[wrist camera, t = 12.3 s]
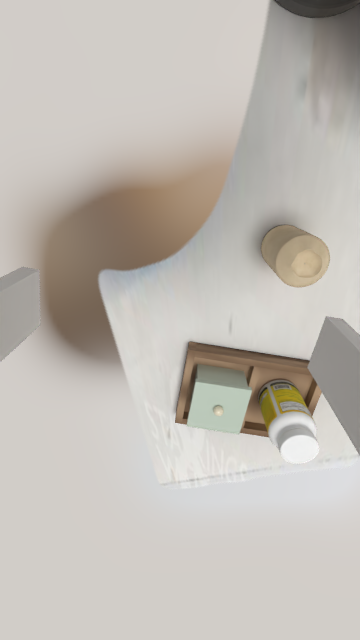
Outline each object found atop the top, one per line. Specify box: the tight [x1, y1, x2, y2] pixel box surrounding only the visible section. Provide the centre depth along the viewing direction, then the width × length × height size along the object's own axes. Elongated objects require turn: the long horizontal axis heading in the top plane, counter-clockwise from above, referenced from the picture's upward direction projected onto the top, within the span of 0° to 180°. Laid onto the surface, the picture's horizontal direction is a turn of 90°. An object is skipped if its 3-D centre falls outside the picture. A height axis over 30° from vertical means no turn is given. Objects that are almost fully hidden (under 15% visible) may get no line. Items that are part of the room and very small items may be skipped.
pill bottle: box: [258, 380, 319, 464], centre depth 44 cm, size 6×6×11 cm
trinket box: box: [187, 364, 252, 434], centre depth 47 cm, size 8×8×6 cm
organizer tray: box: [175, 342, 322, 437], centre depth 49 cm, size 13×20×2 cm, turn 81°
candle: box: [261, 225, 330, 287], centre depth 37 cm, size 6×6×10 cm
